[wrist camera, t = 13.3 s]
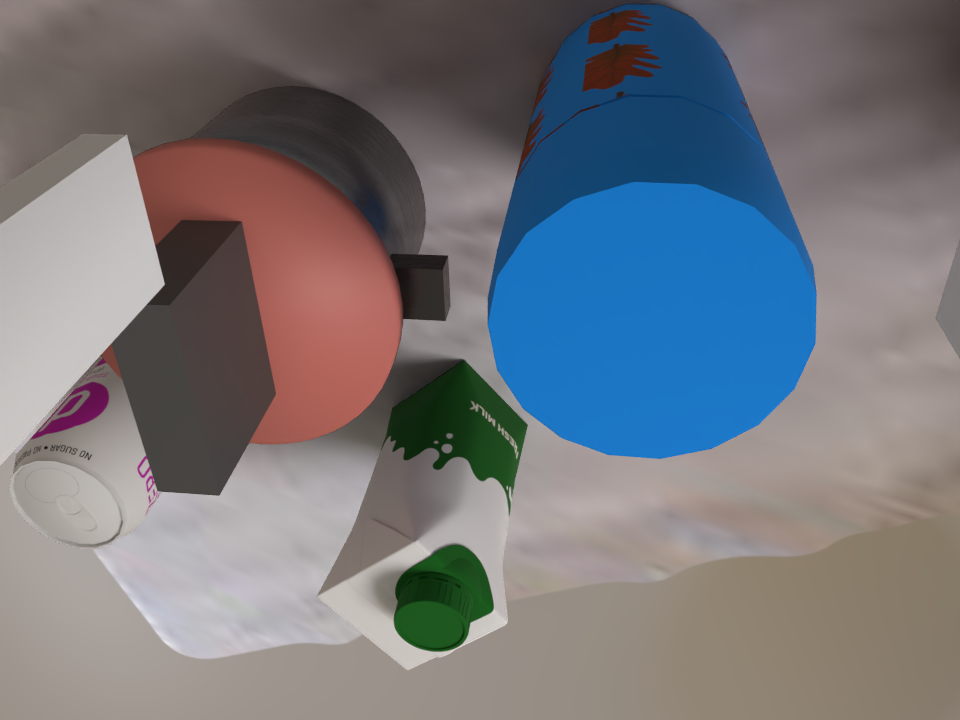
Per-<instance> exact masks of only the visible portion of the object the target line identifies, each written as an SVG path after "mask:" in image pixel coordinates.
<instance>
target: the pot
mask: <svg viewBox="0 0 960 720" xmlns="http://www.w3.org/2000/svg"><path fill="white" fill-rule="evenodd" d="M197 138H217V139H230V140H236V141H241V142H246V143H250V144H255V145H258V146H261V147H264V148H267V149H270V150H273V151H276V152H279V153H281V154H283V155H285V156H287V157H289V158H291V159H294V160H296V161H298V162H300V163H302V164H303V165H305V166H306V167H308V168H310V169H311V170H313V171H315V172H316V173H318V174H319V175H321V176H322V177H324V178H325V179H326V180H327V181H329V182H330V183H331V184H333V185H334V186H335V187H336V188H338V189H339V190H340V191H341V192H342V193H343V194H344V195H345V196H346V197H347V198H348V199H349V200H350V201H351V202H352V203H353V204H354V205H355V206H356V207H357V208H358V209H359V210H360V211H361V213H362V214H363V215H364V216H365V217H366V219H367V220H368V221H369V222H370V224H371V225H372V226H373V228H374V230H375V231H376V233H377V234H378V236H379V238H380V239H381V241H382V242H383V244H384V246H385V248H386V250H387V252H388V254H389V257H390V259H391V261H392V263H393V266H394V269H395V272H396V275H397V278H398V281H399V285H400V291H401V297H402V303H403V319H418V320H439V321H446V318H447V315H448V312H449V309H450V287H449V266H448V256H443V255H418V253H419V250H420V247H421V244H422V241H423V237H424V230H425V213H426V209H425V202H424V194H423V191H422V187H421V183H420V180H419V177H418V175H417V172H416V170H415V168H414V165H413V163H412V162H411V160H410V158H409V156H408V155H407V153H406V151H405V150H404V148H403V147H402V146H401V144H400V143H399V141H398V140H397V139H396V137H395V136H394V135H393V134H392V133H391V132H390V131H389V130H388V129H387V128H386V127H385V126H384V125H383V124H382V123H381V122H380V121H378V120H377V119H376V118H375V117H374V116H373V115H371V114H370V113H368V112H367V111H365V110H364V109H362V108H361V107H359V106H358V105H356V104H354V103H352V102H350V101H348V100H346V99H344V98H342V97H340V96H337V95H334V94H331V93H328V92H326V91H321V90H317V89H312V88H306V87H294V86H290V87H275V88H270V89H265V90H261V91H258V92H255V93H252V94H250V95H247V96H245V97H243V98H241V99H240V100H238V101H236V102H234V103H233V104H232V105H230V106H229V107H228V108H226V109H225V110H224V111H223V112H221V113H220V114H219V115H218V116H217V117H215V118H214V119H213V120H212V121H210V122H209V123H208V124H207V125H206V126H204V127H203V128H202V129H201V130H199V131H198V132H197V133H196V134H195V135H193V136H192V137H191V138H190V139H197Z"/></svg>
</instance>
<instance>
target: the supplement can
mask: <svg viewBox="0 0 960 720" xmlns="http://www.w3.org/2000/svg"><path fill="white" fill-rule="evenodd" d="M9 492H10V495H11V498H12V501H13V505H14V507H15V508H16V509H17V511H18V512H19V513H20V515H21V516H22V518H23V519H24V520H25V521H26V522H27V523H28V524H30V525H31V526H32V527H33V528H34V529H36V530H37V531H38V532H39V533H41V534H42V535H44V536H46V537H48V538H50V539H52V540H54V541H56V542H58V543H61V544H64V545H68V546H72V547H75V548H88V549H97V548H100V547H104V546H107V545H110V544H112V543H113V542H114V541H115V540H116V539H118V538H120V537H123V536H125V535H127V534H129V533H131V532H132V531H133V530H134V529H135V528H136V527H137V526H139V525H140V524H141V523H142V522H143V520H144V518H145V517H146V515H147V514H148V512H149V511H150V509H151V508H152V506H153V505H154V503H155V502H156V500H157V498H158V497H159V495H160V494H161V492H160V491H157V488H156V485H155V482H154V479H153V475H152V472H151V469H150V466H149V463H148V460H147V456H146V453H145V450H144V447H143V444H142V440H141V437H140V434H139V431H138V428H137V425H136V421H135V418H134V415H133V412H132V409H131V405H130V402H129V399H128V396H127V393H126V389H125V386H124V383H123V380H122V379H121V378H120V377H119V376H118V375H117V374H116V373H115V372H114V371H113V370H112V368H111V367H110V366H109V365H108V364H107V362H106V361H105V360H104V359H102V360H101V361H100V362H99V363H98V364H97V365H96V367H95V368H94V369H93V370H92V371H91V372H90V373H89V374H88V375H87V377H86V378H85V379H84V380H83V381H82V382H81V383H80V384H79V385H78V387H77V388H76V389H75V390H74V391H73V392H72V393H71V394H70V395H69V397H68V398H67V399H66V400H65V401H64V402H63V403H62V404H61V405H60V407H59V408H58V409H57V410H56V411H55V412H54V413H53V414H52V415H51V417H50V418H49V419H48V420H47V421H46V422H45V423H44V424H43V425H42V427H41V428H40V429H39V430H38V431H37V432H36V433H35V434H34V435H33V436H32V438H31V439H30V440H29V441H28V442H27V443H26V444H25V445H24V447H23V448H22V449H21V450H20V451H19V452H18V453H17V454H16V459H15V465H14V472H13V476H12V477H11V482H10V488H9Z"/></svg>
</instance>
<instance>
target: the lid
mask: <svg viewBox="0 0 960 720" xmlns="http://www.w3.org/2000/svg"><path fill="white" fill-rule="evenodd" d="M133 161H134V165H135V169H136V173H137V177H138V181H139V185H140V189H141V192H142V196H143V200H144V204H145V208H146V212H147V216H148V220H149V224H150V228H151V232H152V236H153V240H154V244H155V248H156V252H157V255H158V259H159V263H160V267H161V271H162V275H163V279H164V283H165V285H164V286H163V287H162V288H161V289H160V290H159V292H158V293H157V294H156V295H155V296H154V297H153V298H152V299H151V300H150V301H149V303H148V304H147V305H146V306H145V307H144V308H143V309H142V310H141V311H140V312H139V314H138V315H137V316H136V317H135V318H134V319H133V320H132V321H131V322H130V323H129V325H128V326H127V327H126V328H125V329H124V330H123V331H122V332H121V333H120V334H119V336H118V337H117V338H116V339H115V340H114V341H113V342H112V343H111V344H110V345H109V346H108V348H107V349H106V350H105V351H104V352H103V353H102V354H101V356H102V358H103V359H104V360H105V361H106V362H107V364H108V365H109V366H110V367H111V368H112V370H113V371H114V372H115V373H116V374H117V375H118V376H119V377H120V378H121V379H122V380H123V383H124V386H125V389H126V393H127V396H128V399H129V402H130V405H131V409H132V412H133V415H134V418H135V421H136V425H137V428H138V431H139V434H140V437H141V440H142V444H143V447H144V450H145V453H146V456H147V460H148V463H149V466H150V469H151V472H152V475H153V479H154V482H155V485H156V488H157V491H160V492H175V493H189V494H204V495H220V493H221V492H222V490H223V488H224V486H225V484H226V483H227V481H228V479H229V477H230V476H231V474H232V472H233V470H234V468H235V467H236V465H237V463H238V461H239V460H240V458H241V456H242V454H243V452H244V451H245V449H246V447H247V445H248V444H249V443H256V444H285V443H294V442H300V441H305V440H309V439H314V438H317V437H320V436H322V435H325V434H328V433H330V432H333V431H335V430H336V429H338V428H340V427H342V426H344V425H346V424H347V423H349V422H350V421H351V420H353V419H354V418H356V417H357V416H358V415H360V414H361V413H362V412H363V411H364V410H365V409H366V408H367V407H368V406H369V405H370V404H371V403H372V401H373V400H374V399H375V397H376V396H377V394H378V393H379V392H380V390H381V389H382V387H383V385H384V383H385V381H386V379H387V377H388V375H389V373H390V370H391V368H392V365H393V362H394V360H395V357H396V354H397V351H398V347H399V344H400V341H401V334H402V326H403V303H402V297H401V291H400V285H399V281H398V278H397V275H396V272H395V269H394V266H393V263H392V261H391V259H390V257H389V254H388V252H387V250H386V248H385V246H384V244H383V242H382V241H381V239H380V238H379V236H378V234H377V233H376V231H375V230H374V228H373V226H372V225H371V224H370V222H369V221H368V220H367V219H366V217H365V216H364V215H363V214H362V213H361V211H360V210H359V209H358V208H357V207H356V206H355V205H354V204H353V203H352V202H351V201H350V200H349V199H348V198H347V197H346V196H345V195H344V194H343V193H342V192H341V191H340V190H339V189H338V188H336V187H335V186H334V185H333V184H331V183H330V182H329V181H327V180H326V179H325V178H324V177H322V176H321V175H319V174H318V173H316V172H315V171H313V170H311V169H310V168H308V167H306V166H305V165H303V164H302V163H300V162H298V161H296V160H294V159H291V158H289V157H287V156H285V155H283V154H281V153H279V152H276V151H273V150H270V149H267V148H264V147H261V146H258V145H255V144H250V143H246V142H241V141H236V140H230V139H217V138H197V139H184V140H179V141H175V142H170V143H165V144H162V145H160V146H157V147H154V148H151V149H149V150H146V151H144V152H143V153H141V154H139V155H137V156H135V157H134V158H133Z"/></svg>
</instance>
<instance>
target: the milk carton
mask: <svg viewBox="0 0 960 720" xmlns="http://www.w3.org/2000/svg"><path fill="white" fill-rule="evenodd" d="M527 426H528V425H527V424H526V423H525V422H524V421H523V420H522V419H521V418H520V417H519V416H518V415H517V414H516V413H515V412H514V411H513V410H512V409H511V408H510V406H509V405H508V404H507V403H506V402H505V401H504V400H503V399H502V398H501V397H500V396H499V395H498V394H497V393H496V392H495V391H494V390H493V389H492V388H491V387H490V386H489V385H488V384H487V383H486V382H485V381H484V380H483V379H482V378H481V377H480V376H479V375H478V374H477V373H476V372H475V371H474V370H473V369H472V367H471V366H470V365H469V364H468V363H467V362H466V361H465V360H464V361H462V362H461V363H459V364H458V365H456V366H455V367H453V368H452V369H450V370H449V371H447V372H446V373H444V374H443V375H441V376H440V377H438V378H437V379H435V380H434V381H432V382H431V383H429V384H428V385H426V386H425V387H423V388H422V389H420V390H419V391H417V392H416V393H414V394H413V395H411V396H410V397H408V398H407V399H405V400H404V401H402V402H401V403H399V404H398V405H396V406H395V407H393V408H392V413H391V417H390V421H389V425H388V429H387V434H386V438H385V441H384V443H383V446H382V449H381V452H380V454H379V457H378V460H377V463H376V466H375V468H374V471H373V474H372V477H371V480H370V482H369V485H368V488H367V491H366V494H365V496H364V499H363V502H362V505H361V507H360V510H359V513H358V516H357V519H356V522H355V524H354V526H353V529H352V531H351V533H350V535H349V537H348V539H347V541H346V543H345V544H344V546H343V548H342V550H341V552H340V554H339V556H338V558H337V560H336V562H335V564H334V565H333V567H332V569H331V571H330V573H329V575H328V577H327V579H326V580H325V582H324V584H323V586H322V588H321V590H320V592H319V593H318V595H317V597H318V598H319V599H320V600H321V601H323V602H324V603H325V604H326V605H328V606H329V607H330V608H331V609H332V610H334V611H335V612H336V613H337V614H339V615H340V616H341V617H342V618H344V619H345V620H346V621H347V622H348V623H350V624H351V625H352V626H353V627H355V628H356V629H357V630H358V631H360V632H361V633H362V634H363V635H364V636H366V637H367V638H368V639H370V640H371V641H372V642H373V643H374V644H376V645H377V646H378V647H379V648H380V649H382V650H383V651H384V652H385V653H387V654H388V655H389V656H390V657H392V658H393V659H394V660H395V661H396V662H398V663H399V664H400V665H401V666H403V667H404V668H405V669H406V670H409V669H411V668H413V667H416V666H418V665H420V664H422V663H424V662H426V661H428V660H430V659H433V658H435V657H438V658H440V657H443V656H445V655H448V654H449V653H451V652H453V651H454V650H455V649H457V648H460V647H462V646H464V645H466V644H468V643H470V642H472V641H474V640H476V639H478V638H480V637H482V636H484V635H486V634H488V633H490V632H492V631H494V630H496V629H498V628H500V627H502V626H504V625H506V624H507V622H508V619H507V608H506V598H505V589H504V579H503V568H502V564H503V557H504V550H505V544H506V537H507V530H508V523H509V517H510V510H511V503H512V497H513V490H514V483H515V477H516V473H517V469H518V465H519V460H520V456H521V451H522V447H523V443H524V439H525V434H526V430H527Z"/></svg>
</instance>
